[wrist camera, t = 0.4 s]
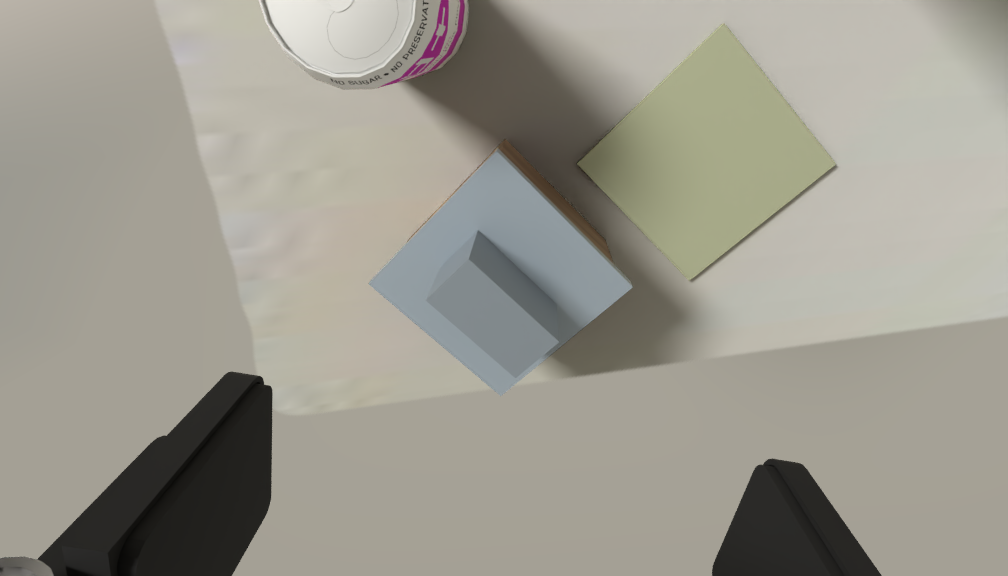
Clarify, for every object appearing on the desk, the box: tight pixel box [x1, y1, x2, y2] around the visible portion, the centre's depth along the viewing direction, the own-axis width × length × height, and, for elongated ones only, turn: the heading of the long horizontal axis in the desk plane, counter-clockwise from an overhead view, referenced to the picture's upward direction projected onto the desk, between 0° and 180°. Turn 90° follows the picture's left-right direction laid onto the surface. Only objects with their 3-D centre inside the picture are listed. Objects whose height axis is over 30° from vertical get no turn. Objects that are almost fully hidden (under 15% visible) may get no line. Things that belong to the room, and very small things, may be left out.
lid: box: [369, 148, 633, 396], centre depth 34 cm, size 12×12×7 cm
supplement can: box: [259, 0, 469, 89], centre depth 30 cm, size 8×8×15 cm
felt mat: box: [577, 24, 836, 281], centre depth 40 cm, size 13×13×1 cm
